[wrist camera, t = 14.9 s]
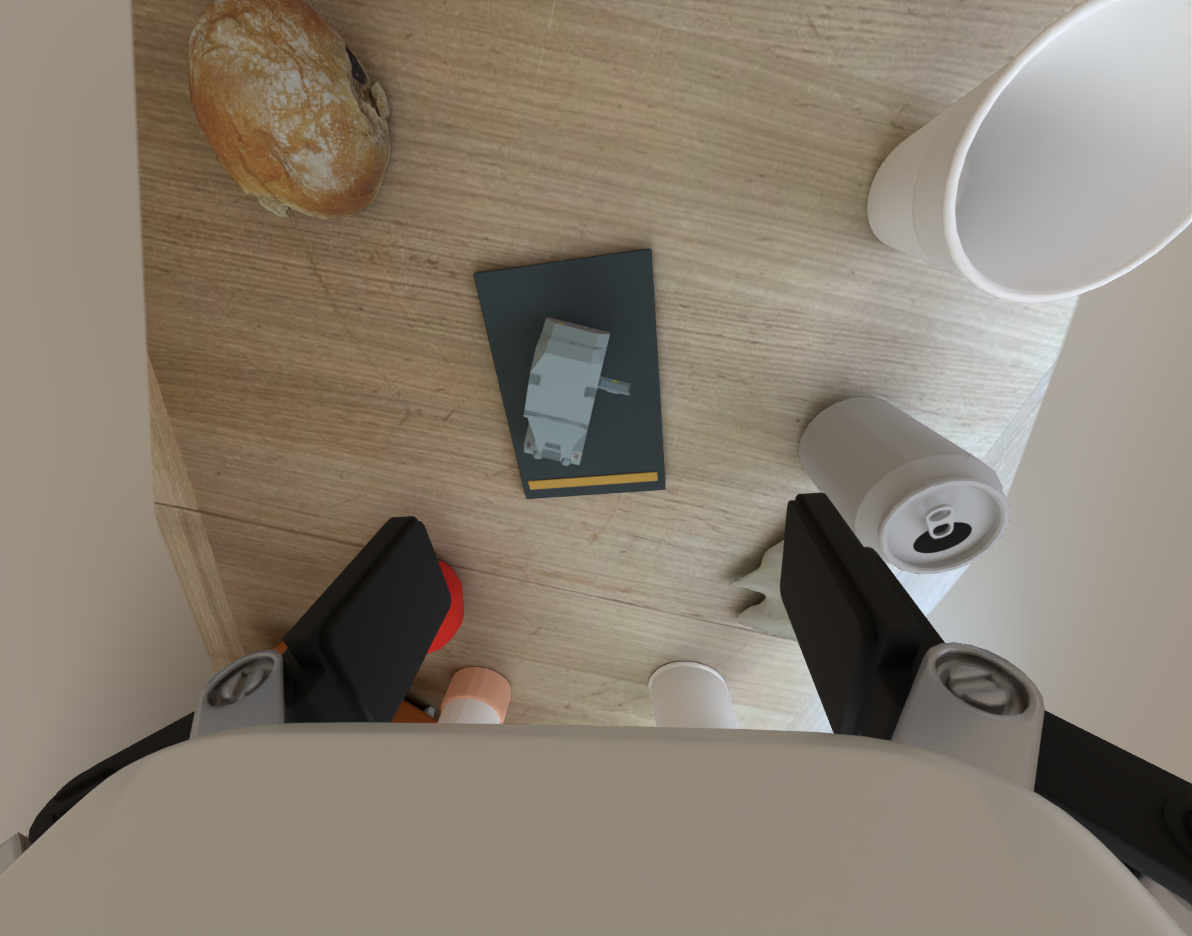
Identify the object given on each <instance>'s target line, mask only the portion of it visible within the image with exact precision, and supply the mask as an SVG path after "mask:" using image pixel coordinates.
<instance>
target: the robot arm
mask: <svg viewBox="0 0 1192 936" xmlns="http://www.w3.org/2000/svg"><path fill="white" fill-rule="evenodd" d="M780 594H781V599H782V602H783V604H784V607H785V609H786V612H787V615H788V617H789V620H790V622H791V625H792V627H793V630H794V633H795V635H796V638H797V640H798V643H799V645H800V648H801V651H802V653H803V656H804V658H805V661H806V664H807V666H808V669H809V671H810V674H811V676H812V679H813V682H814V684H815V687H816V689H817V692H818V694H819V697H820V700H821V702H822V705H823V707H824V710H825V712H826V715H827V718H828V720H829V723H830V725H831V728H832V730H833V732H834V734H831V733H820V732H801V731H776V730H750V729H723V728H678V727H634V726H586V725H528V724H465V723H391V722H392V720H393V718H394V717H395V715H396V713H397V711H398V709H399V707H400V705H401V703H402V701H403V699H404V697H405V695H406V693H407V691H408V689H409V687H410V685H411V683H412V681H413V680H414V678H415V676H416V674H417V672H418V670H419V668H420V666H421V664H422V662H423V660H424V658H425V656H426V654H427V652H428V650H429V648H430V646H431V644H432V643H433V641H434V639H435V637H436V635H437V633H438V631H439V629H440V627H441V625H442V623H443V621H444V619H445V617H446V615H447V613H448V611H449V609H450V607H451V601H452V598H451V593H450V591H449V588H448V586H447V583H446V580H445V578H444V575H443V573H442V570H441V567H440V565H439V562H438V560H437V557H436V554H435V552H434V549H433V547H432V544H431V541H430V539H429V536H428V534H427V531H426V528H425V526H424V524H423V523H422V522H421V521H418V520H417V518H415V517H413V516H407V517H393V518H390V519H389V520H388V521H387V522H386V523H385V524H384V526H383V527H382V528H381V529H380V530H379V531H378V532H377V533H376V535H375V536H374V537H373V538H372V539H371V540H370V541H369V542H368V543H367V545H366V546H365V547H364V548H363V549H362V550H361V551H360V552H359V554H358V555H357V556H356V557H355V558H354V559H353V560H352V561H351V563H350V564H349V565H348V566H347V567H346V568H345V569H344V570H343V572H342V573H341V574H340V575H339V576H338V577H337V578H336V579H335V580H334V582H333V583H332V584H331V585H330V586H329V587H328V588H327V589H326V591H325V592H324V593H323V594H322V595H321V596H320V597H319V598H318V600H317V601H316V602H315V603H314V604H313V605H312V606H311V607H310V609H309V610H308V611H307V612H306V613H305V614H304V615H303V616H302V617H301V619H300V620H299V621H298V622H297V623H296V624H295V625H294V626H293V628H292V629H291V630H290V631H289V632H288V633H287V634H286V635H285V637H284V638H283V639H282V640H283V642H284V643H285V645H286V646H287V647H288V648H287V649H286V650H285V651H284V653H283V654H282V655H281V653H279V652H278V651H276V650H269V649H266V650H261V651H256V652H253V653H251V654H248V655H245V656H243V657H241V658H239V659H238V660H236V661H234V662H232V663H231V664H229V665H228V666H226V667H225V668H224V669H222V670H221V671H220V672H218V673H217V674H216V675H215V676H214V677H213V678H212V679H211V680H210V681H209V682H208V683H207V685H206V686H205V687H204V689H203V690H202V691H201V693H200V695H199V698H198V700H197V704H196V709H195V711H194V712H192V713H190V714H188V715H187V716H185V717H183V718H181V719H179V720H178V721H176V722H174V723H172V724H170V725H168V726H166V727H165V728H163V729H161V730H159V731H157V732H155V733H154V734H152V735H150V736H148V737H146V738H144V739H142V740H141V741H139V742H137V743H135V744H133V745H132V746H130V747H128V748H126V749H124V750H122V751H120V752H119V753H117V754H115V755H113V756H111V757H110V758H108V759H106V760H104V761H102V762H100V763H98V764H97V765H95V766H93V767H92V768H90V769H88V770H87V771H85V772H83V773H81V774H80V775H78V776H77V777H75V778H73V779H72V780H71V781H69V782H68V783H67V784H66V785H65V786H64V787H63V788H62V789H61V790H60V791H58V793H57V794H56V795H55V796H54V797H53V798H52V799H51V800H50V801H49V802H48V803H47V804H46V806H45V807H44V808H43V809H42V810H41V812H40V813H39V814H38V816H37V817H36V819H35V820H34V822H33V824H32V826H31V828H30V830H29V835H27V836H26V837H25V836H23V835H22V834H20V833H19V832H18V833H17V834H15V835H14V836H12V837H11V838H9V839H8V840H7V841H5V842H4V843H2V844H1V845H0V936H1192V784H1191V783H1189V782H1187V781H1185V780H1183V779H1181V778H1179V777H1177V776H1175V775H1173V774H1171V773H1169V772H1167V771H1165V770H1163V769H1161V768H1159V767H1157V766H1155V765H1153V764H1151V763H1149V762H1147V761H1145V760H1143V759H1141V758H1139V757H1137V756H1135V755H1133V754H1131V753H1129V752H1127V751H1125V750H1123V749H1121V748H1119V747H1117V746H1115V745H1113V744H1111V743H1109V742H1107V741H1105V740H1103V739H1101V738H1099V737H1097V736H1095V735H1093V734H1091V733H1089V732H1087V731H1085V730H1083V729H1081V728H1079V727H1077V726H1075V725H1073V724H1071V723H1069V722H1067V721H1065V720H1063V719H1061V718H1059V717H1057V716H1055V715H1053V714H1051V713H1049V712H1047V711H1045V710H1044V703H1043V697H1042V695H1041V694H1040V692H1039V690H1038V689H1037V687H1036V685H1035V684H1034V683H1033V682H1032V681H1031V680H1030V679H1029V678H1028V677H1027V676H1026V675H1025V673H1023V672H1022V671H1021V670H1020V669H1019V668H1017V667H1016V666H1014V665H1013V664H1012V663H1010V662H1009V661H1007V660H1006V659H1004V658H1002V657H1000V656H998V655H996V654H994V653H992V652H990V651H988V650H985V649H982V648H979V647H976V646H973V645H968V644H961V643H945V642H944V641H943V640H942V638H941V637H940V636H939V634H938V633H937V632H936V630H935V629H934V628H933V626H932V625H931V624H930V622H929V621H928V620H927V618H926V617H925V616H924V614H923V613H922V612H921V610H920V609H919V608H918V606H917V605H916V604H915V602H914V601H913V600H912V598H911V597H910V596H909V594H908V593H907V592H906V590H905V589H904V588H903V586H902V585H901V584H900V582H899V581H898V580H897V578H896V577H895V576H894V574H893V573H892V571H891V570H890V569H889V567H888V566H887V565H886V563H885V562H884V561H883V559H882V558H881V557H880V555H879V554H878V553H877V552H876V551H875V550H874V549H873V548H870V547H864V546H863V545H862V544H861V542H860V541H859V539H858V538H857V537H856V535H855V534H854V532H853V531H852V530H851V528H850V527H849V526H848V524H847V523H846V521H845V520H844V519H843V517H842V516H841V514H840V513H839V512H838V510H837V509H836V507H835V506H834V505H833V503H832V502H831V501H830V499H829V498H828V496H827V495H826V494H825V493H809V494H798V495H797V496H796V499H795V500H793V501H789V502H788V506H787V515H786V526H785V536H784V547H783V557H782V567H781V578H780Z"/></svg>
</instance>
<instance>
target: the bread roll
mask: <svg viewBox="0 0 1192 936" xmlns="http://www.w3.org/2000/svg"><path fill="white" fill-rule="evenodd" d="M188 48H189V49H188V71H189V89H190V97H191V102H192V105H193V109H194V112H195V115H196V117H197V120H198V122H199V124H200V126H201V128H202V129H203V131H204V133H205V135H206V137H207V139H208V141H209V142H210V144H211V146H212V147H213V149H214V150H215V152H216V157H217V161H218V163H219V164H220V165H221V166H222V167H223V168H224V169H225V170H226V171H227V172H228V173H229V175H230V176H231V177H232V178H233V180H234V181H236V182H237V183H238V185H239V186H240V188H241V189H242V191H243V192H244V193H246V194H253V195H256V196H257V197H258V200H259V203H260V204H261V205H262V206H263V207H264V208H265V209H267V210H268V211H271V212H273V213H274V214H276V215H277V216H279V217H288V218H289V217H290V216H289V213H290V211H289V210H288V209H290V208H292V209H294V210H296V211H299V212H302V213H304V214H306V215H309V216H317V217H319V218H322V219H325V220H327V219H331V218H339V217H343V216H348V217H352V215H354V214H356V213H358V212H360V211H362V210H363V209H365V208H367V207H368V206H369V205H370V204H372V203H373V202H374V199H375V197H376V195H377V194H378V191H379V189H380V187H381V186H382V185H383V179H384V175H385V172H386V169H387V166H388V163H389V158H390V152H391V143H390V136H389V131H388V127H387V121H386V119H387V118H388V117H389V114H390V109H389V105H388V102H387V98H386V94H385V92H384V90H383V89H382V87H381V85H380V84H379V82H378V81H377V80H376V81H375V82H374V83H372V82H371V80H370V78H369V76H368V74H367V72H366V70H365V69H364V67H363V66H362V64H361V63H360V61H359V60H358V58H357V57H356V55H355V54H354V52H353V51H352V49H351V48H350V46H349V45H348V44H347V42H346V41H345V40H344V38H343V36H342V34H341V33H340V32H339V31H337V30H336V29H335V28H334V27H333V26H332V25H331V24H330V23H329V22H328V21H327V20H326V19H325V18H324V17H323V16H322V15H321V14H320V13H319V12H318V11H317V10H316V9H314V8H313V7H312V6H310V5H309V4H307V3H306V2H304V1H302V0H215V1H214V2H213V3H212V4H210V5H209V6H208V7H207V9H206V10H205V11H204V13H203V14H202V15H201V16H200V17H199V19H198V22H197V24H196V26H195V27H194V29H193V31H192V34H191V36H190V38H189V43H188Z"/></svg>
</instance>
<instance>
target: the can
mask: <svg viewBox="0 0 1192 936" xmlns="http://www.w3.org/2000/svg"><path fill="white" fill-rule="evenodd" d="M799 457H800V462H801V466H802V467H803V468H804V470H805V471H806V473H807V474H808V476H809V477H810V478H811V480H812V481H813V482H814V484H815V485H816V486H817V488H818V489H819V490H820V492H821V493H825V494H826V495H827V496H828V498H829V499H830V501H831V502H832V503H833V505H834V506H835V507H836V509H837V510H838V512H839V513H840V514H841V516H842V517H843V519H844V520H845V521H846V523H847V524H848V526H849V527H850V528H851V530H852V531H853V532H854V534H855V535H856V537H857V538H858V539H859V541H860V542H861V544H862V545H863V546H864V547H870V548H873V549H874V550H875V551H876V552H877V553H878V554H879V555H880V557H881V558H882V559H883V561H884V562H887V563H891V564H893V565H894V566H896V567H897V568H899V569H900V570H904V571H908V572H912V573H916V574H936V573H941V572H946V571H950V570H955V569H958V568H960V567H962V566H965V565H967V564H969V563H972V562H974V561H975V560H977V559H978V558H980V557H981V556H982V555H984V554H985V553H987V552H988V551H990V549H991V548H992V547H993V546H994V545H995V544H996V543H997V542H998V541H999V539H1000V538H1001V537H1002V536H1003V534H1004V531H1005V529H1006V527H1007V525H1008V523H1009V517H1010V505H1009V503H1008V501H1007V499H1006V497H1005V495H1004V493H1003V492H1002V485H1001V483H1000V481H999V479H998V477H997V475H996V473H995V471H994V470H993V469H991V468H990V467H989V466H987V465H986V464H985V463H983V462H982V461H981V460H979V459H977V458H976V457H974V456H973V455H971V454H969V453H968V452H966V451H965V450H963V449H961V448H960V447H958V446H957V445H955V444H954V443H952V442H950V441H949V440H947V439H946V438H944V437H942V436H941V435H939V434H938V433H936V432H934V431H933V430H931V429H930V428H928V427H926V426H925V425H923V424H922V423H920V422H918V421H917V420H915V419H914V418H912V417H910V416H909V415H907V414H906V413H904V412H902V411H901V410H899V409H898V408H896V407H894V406H893V405H891V404H890V403H888V402H887V401H884V400H880V399H877V398H873V397H853V398H849V399H846V400H843V401H840V402H837V403H835V404H833V405H831V406H830V407H828V408H826V409H825V410H823V411H822V412H820V413H819V414H818V415H817V416H816V417H815V418H814V419H813V420H812V421H811V422H810V423H809V424H808V426H807V428H806V430H805V432H804V434H803V436H802V437H801V441H800V447H799Z"/></svg>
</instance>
